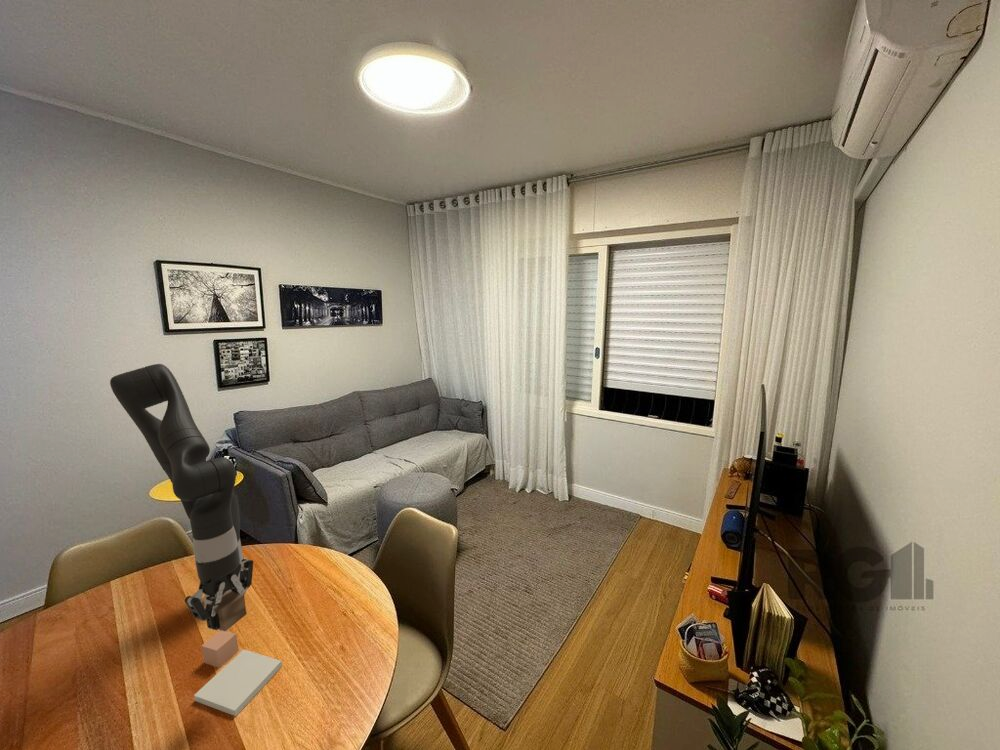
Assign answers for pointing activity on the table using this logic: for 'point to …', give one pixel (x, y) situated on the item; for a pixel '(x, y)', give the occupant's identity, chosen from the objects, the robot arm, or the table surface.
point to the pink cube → (220, 648)
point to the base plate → (238, 682)
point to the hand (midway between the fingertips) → (227, 618)
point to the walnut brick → (231, 609)
